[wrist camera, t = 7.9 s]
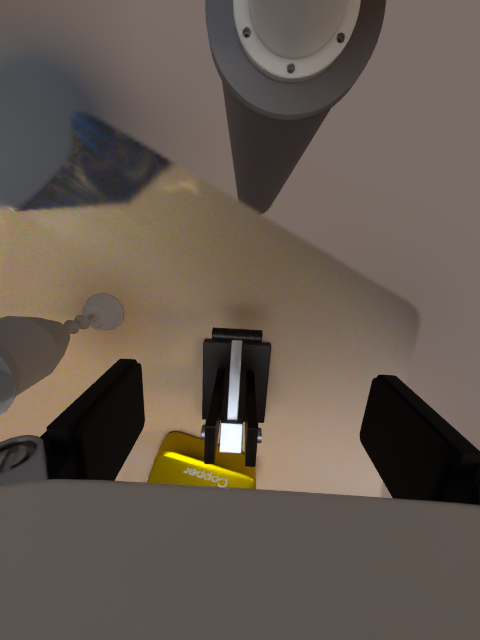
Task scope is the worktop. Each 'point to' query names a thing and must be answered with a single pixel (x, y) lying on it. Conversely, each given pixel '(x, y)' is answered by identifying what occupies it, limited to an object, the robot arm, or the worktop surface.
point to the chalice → (45, 344)
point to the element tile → (199, 465)
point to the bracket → (250, 393)
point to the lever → (234, 386)
